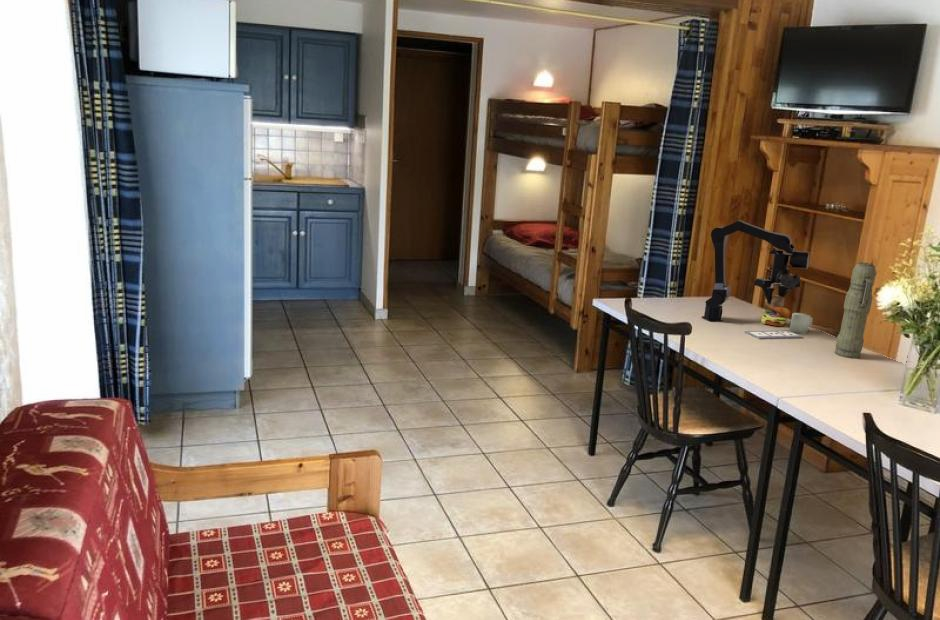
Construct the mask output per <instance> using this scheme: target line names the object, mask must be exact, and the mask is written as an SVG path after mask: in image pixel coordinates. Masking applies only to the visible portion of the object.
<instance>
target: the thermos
mask: <svg viewBox="0 0 940 620" xmlns="http://www.w3.org/2000/svg"><path fill="white" fill-rule="evenodd" d="M876 275H877V273H876V266H875V265H874V264H873V263H868V262H862V261H861V262H859V263H856V264H855V266H854V268H853V269H852V274H851V277H850V282H849V283H850V286H849V289H848V291H847V292H846V293H845V297H844V298H845V299H844V302H843V303H844V304H843V310H844V311H843V316H842V321H841V326H840V330H839V333H838V334H837V337H836V341H835V342H836V343H835V351H834V354H836V355H837V356H839V357H843V358H847V359H860V357H861V352H862V351H863V346H864V341H865V338H864V333H865V327H866V324H867V319H868V315H869V313H870V312H871V307H872V301H873V287H874V283H875V278H876Z"/></svg>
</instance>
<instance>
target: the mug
mask: <svg viewBox="0 0 940 620" xmlns="http://www.w3.org/2000/svg"><path fill="white" fill-rule="evenodd" d="M813 319H814V317H811V315H810V314H807V313H802V312H793V313H792V315H791V319H790V324H789V325H790V326H789V330H788V331H790V332H793V333H795V334H799V335H801V334H802V335H803V334H809V333H808V332H809V328H812V325H813Z"/></svg>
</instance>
